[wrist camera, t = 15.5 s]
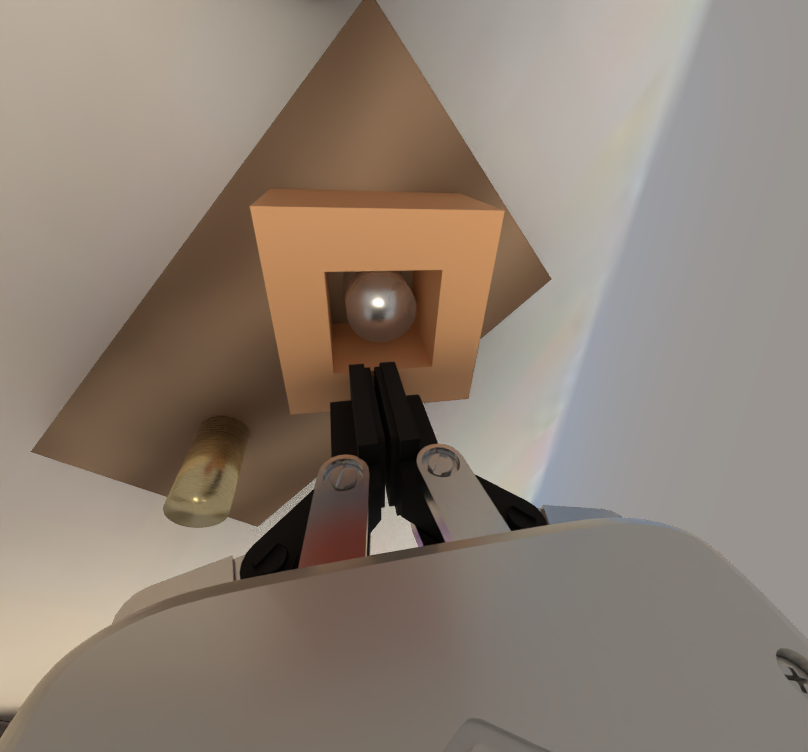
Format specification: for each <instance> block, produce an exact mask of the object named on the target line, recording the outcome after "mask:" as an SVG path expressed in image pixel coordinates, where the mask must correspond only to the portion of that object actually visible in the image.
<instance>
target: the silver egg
mask: <svg viewBox="0 0 808 752" xmlns="http://www.w3.org/2000/svg"><path fill="white" fill-rule="evenodd" d="M343 287H344V296H345V304H346V312H347V319H348V322H349V324H350V326H351V328H352V329H353V331H354V332H355V333H356V334H357V335H359V336H360V337H361V338H363V339H365V340H368V341H371V342H377V343H383V342H389V341H392V340H395V339H397V338H399V337H400V336H402V335H403V334H404V333H406V332H407V331H408V329H409V328H410V327H411V325H412V323H413V321H414V319H415V316H416V301H415V298H414V295H413V293H412V292H411V290H410V288H409V286H408V285H407V283H406V281H405V279H404V278H403V276H402V274H401V272H400V271H345V273H344V277H343Z"/></svg>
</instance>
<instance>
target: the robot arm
mask: <svg viewBox="0 0 808 752" xmlns="http://www.w3.org/2000/svg"><path fill="white" fill-rule="evenodd" d="M349 379H350V396H351V400H348V401H337V402H330V424H331V458H330V459H329V460H328V461H326V462H325V463H324V464H323V465H322V466H321V467H320V469H319V472H318V474H317V479H316V484H315V489H314V490H312V491H311V492H310V493H309V494H308V495H307V496H306V497H305V498H304V499H303V500H302V501H301V502H299V503H298V504H297V505H296V506H295V507H294V508H293V509H292V510H291V511H290V512H289V513H288V514H286V515H285V516H284V517H283V518H282V519H281V520H280V521H279V522H278V523H277V524H276V525H275V526H274V527H272V528H271V529H270V530H269V531H268V532H267V533H266V534H265V535H264V536H263V537H262V538H261V539H259V540H258V541H257V542H256V543H255V544H254V545H253V546H252V547H251V548H250V550H249V551H248V552H247V553H246V555H243V556H240V557H238V558H235V559H234V558H233V556H229V557H227V558H224V559H221V560H219V561H216V562H213V563H211V564H208V565H205V566H203V567H200V568H197V569H195V570H192V571H189V572H187V573H184V574H181V575H179V576H176V577H173V578H171V579H168V580H165V581H162V582H160V583H157V584H154V585H152V586H149V587H147V588H145V589H143V590H141V591H139V592H138V593H136V594H135V595H133V596H132V597H131V598H130V599H129V600H128V601H126V602H125V603H124V605H123V606H122V607H121V609H120V610H119V611H118V613H117V614H116V615H115V618H114V620H113V623H112V624H111V625H110V626H108V627H106V628H104V629H103V630H101V631H99V632H98V633H96V634H95V635H93V636H92V637H90V638H89V639H87V640H86V641H84V642H83V643H81V644H80V645H78V646H77V647H76V648H74V649H73V650H72V651H70V652H69V653H68V654H67V655H65V656H64V657H63V658H62V659H61V660H60V661H59V662H58V663H57V664H55V665H54V666H53V667H52V669H51V670H50V671H49V672H48V673H47V674H46V675H45V676H44V677H43V678H42V680H41V681H40V682H39V683H38V684H37V686H36V687H35V688H34V689H33V691H32V692H31V694H30V695H29V696H28V698H27V699H26V700H25V702H24V703H23V704H22V706H21V707H20V709H19V710H18V712H17V713H16V715H15V716H14V718H13V719H12V721H11V722H10V724H9V725H8V727H7V728H6V730H5V732H4V733H3V735H2V736H1V738H0V752H808V639H807V638H806V637H805V636H804V635H803V634H802V633H801V632H800V631H799V630H798V629H797V628H796V627H795V626H794V625H793V623H792V622H790V620H789V619H788V618H787V617H786V616H785V615H784V614H783V613H782V612H781V611H780V610H779V609H778V608H777V607H776V606H775V605H774V604H773V603H772V602H771V601H770V600H769V599H768V598H767V597H766V596H765V595H764V594H763V593H762V592H761V591H760V590H759V589H758V588H757V587H756V586H755V585H754V584H753V583H752V582H751V581H750V580H749V579H748V578H747V577H746V576H745V575H744V574H742V573H741V572H740V571H739V570H738V569H737V568H736V567H735V566H734V565H733V564H731V562H730V561H728V560H727V559H726V558H725V557H724V556H723V555H722V554H720V553H719V552H718V551H717V550H716V549H714V548H713V547H712V546H711V545H709V544H708V543H706V542H705V541H703V540H702V539H701V538H699V537H697V536H695V535H694V534H692V533H690V532H688V531H685V530H683V529H680V528H677V527H673V526H670V525H667V524H663V523H659V522H654V521H649V520H644V519H635V518H623V517H621V516H620V515H618V514H616V513H614V512H612V511H609V510H605V509H594V508H580V507H565V506H549V505H543V506H542V508H536V507H535V506H534V505H532V504H531V503H529V502H528V501H526V500H524V499H522V498H520V497H518V496H516V495H514V494H512V493H510V492H508V491H506V490H504V489H502V488H500V487H498V486H497V485H495V484H493V483H491V482H489V481H487V480H485V479H483V478H481V477H479V476H477V475H475V474H474V473H473V471H472V470H471V468H470V467H469V465H468V464H467V462H466V461H465V459H464V457H463V456H462V455H461V454H460V453H459V451H457V450H456V449H454V448H453V447H451V446H448V445H445V444H438V442H437V440H436V437H435V434H434V432H433V429H432V426H431V424H430V421H429V419H428V416H427V413H426V411H425V408H424V405H423V403H422V400H421V398H420V396H419V395H418V394H416V395H406V394H405V391H404V388H403V385H402V382H401V379H400V376H399V373H398V369H397V366H396V363H395V362H380V364H379V367H374V384H373V379H372V375H371V370H370V367H364V364H351V365H349ZM385 486H386V492H387V497H388V503H389V506H395V508H396V513H397V516H398V515H401V517H403V518H405V519H406V520H408V521H409V522H411V528H412V532H413V534H414V537H415V539H416V542H417V544H418V547H417V548H411V549H405V550H399V551H394V552H388V553H382V554H377V555H371V556H370V550H371V532H372V530H373V529H374V528H375V527H376V525H377V524H378V523H379V522H380V520H381V508H383V507H385Z"/></svg>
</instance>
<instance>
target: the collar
mask: <svg viewBox="0 0 808 752" xmlns="http://www.w3.org/2000/svg"><path fill="white" fill-rule="evenodd" d="M250 210H251V215H252V220H253V225H254V230H255V236H256V241H257V246H258V251H259V256H260V261H261V266H262V271H263V276H264V281H265V287H266V292H267V297H268V302H269V307H270V312H271V317H272V322H273V327H274V332H275V338H276V343H277V348H278V353H279V358H280V363H281V368H282V373H283V378H284V383H285V389H286V394H287V399H288V404H289V409H290V414H302V413H314V412H325V411H330V402H337V401H348V400H351V396H350V379H349V365H351V364H364V367H370V370H371V375H372V379H373V384H374V367H379V364H380V362H395V363H396V366H397V369H398V373H399V376H400V379H401V382H402V385H403V388H404V391H405V394H406V395H416V394H418V395H419V396H420V398H421V400H422V403H426V402H438V401H449V400H460V399H468V398H469V393H470V388H471V383H472V377H473V372H474V367H475V362H476V357H477V352H478V346H479V341H480V336H481V331H482V326H483V321H484V315H485V310H486V305H487V300H488V295H489V290H490V284H491V279H492V274H493V269H494V264H495V259H496V253H497V248H498V243H499V238H500V233H501V228H502V222H503V217H504V212H505V211H504V210H502V209H499V208H497V207H494V206H491V205H489V204H486V203H484V202H481V201H479V200H476V199H473V198H471V197H468V196H466V195H463V194H461V193H425V192H388V191H351V190H314V189H277V188H270V189H269V190H268V191H267V192H266V193H265V194H263V195H262V196H261V197H260V198H259V199H258V200H256V201H255V202H254V203H253V204H252V205H250ZM406 270H413V283H412V293H413V295H414V298H415V301H416V316H415V319H414V321H413V323H412V325H411V327H410V328H409V329H408V331H407V332H406V333H404V334H403V335H402V336H400V337H399V338H397V339H395V340H392V341H389V342H383V343H377V342H371V341H368V340H365V339H363V338H361V337H360V336H359V335H357V334H356V333H355V332H354V331H353V329H352V328H351V326H350V324H349V323H342V324H332V319H331V308H330V296H329V285H328V273H327V272H342V271H406Z"/></svg>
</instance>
